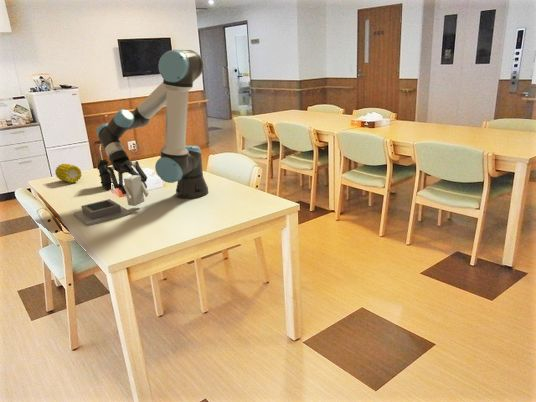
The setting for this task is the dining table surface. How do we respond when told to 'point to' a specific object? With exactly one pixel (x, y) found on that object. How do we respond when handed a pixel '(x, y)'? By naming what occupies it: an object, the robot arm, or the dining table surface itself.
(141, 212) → the dining table surface
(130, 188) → the skincare box
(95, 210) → the dock
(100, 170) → the black knobby slab
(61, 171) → the food
